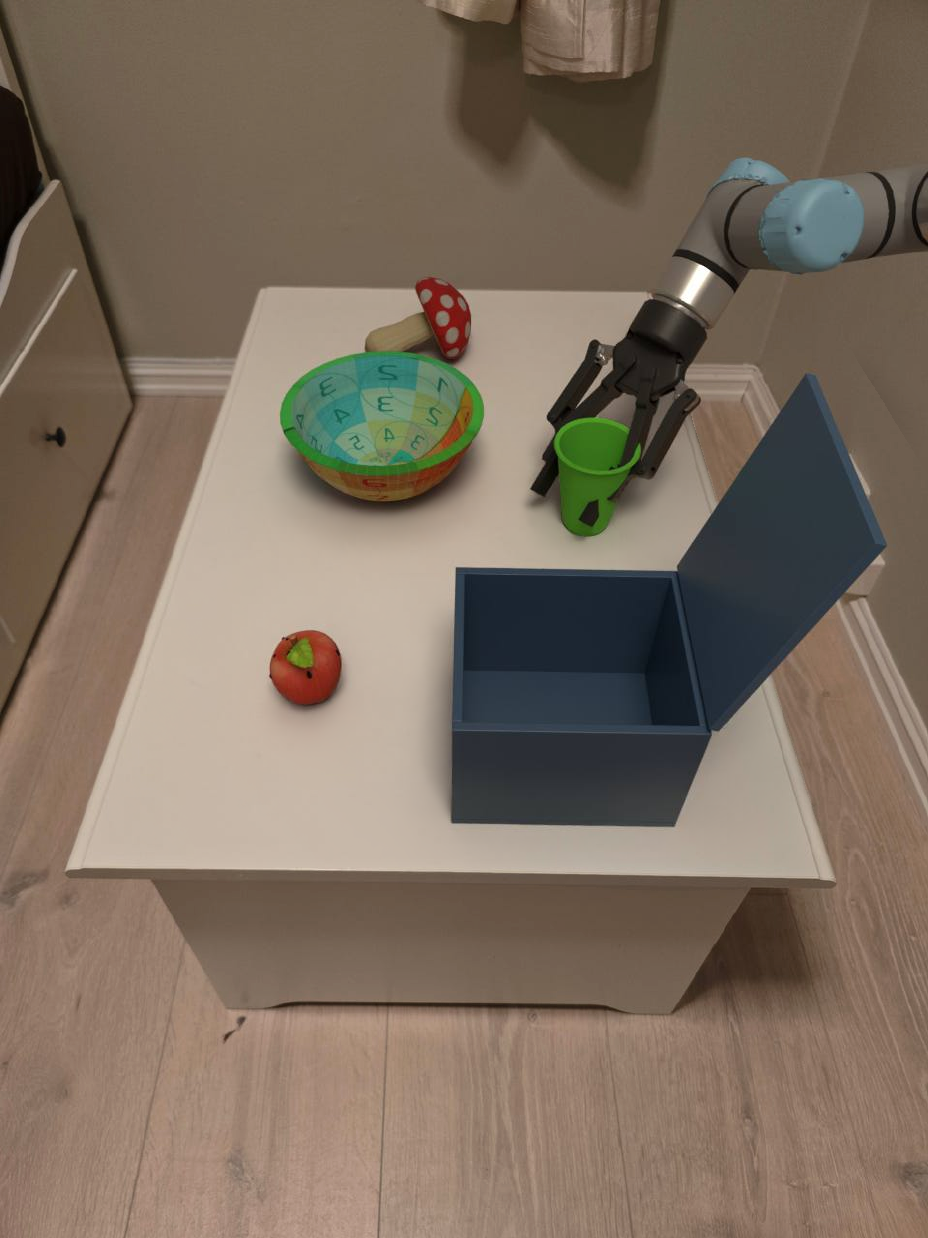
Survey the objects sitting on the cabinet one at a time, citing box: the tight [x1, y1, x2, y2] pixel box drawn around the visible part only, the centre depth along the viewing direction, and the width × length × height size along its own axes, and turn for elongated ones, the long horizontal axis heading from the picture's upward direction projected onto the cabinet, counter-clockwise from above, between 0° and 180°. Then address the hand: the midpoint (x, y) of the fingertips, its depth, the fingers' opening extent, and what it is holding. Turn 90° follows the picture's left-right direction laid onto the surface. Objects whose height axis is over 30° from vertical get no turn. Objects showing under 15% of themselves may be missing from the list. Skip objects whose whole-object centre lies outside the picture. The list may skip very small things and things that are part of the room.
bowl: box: [279, 351, 485, 502], centre depth 101 cm, size 22×22×10 cm
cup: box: [554, 417, 641, 537], centre depth 97 cm, size 9×9×11 cm
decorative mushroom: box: [364, 276, 472, 360], centre depth 119 cm, size 11×11×15 cm
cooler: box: [450, 566, 713, 828], centre depth 76 cm, size 19×17×14 cm
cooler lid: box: [676, 372, 888, 733], centre depth 63 cm, size 20×17×1 cm
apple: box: [268, 629, 343, 706], centre depth 81 cm, size 8×7×10 cm
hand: (561, 507), depth 97 cm, fingers closed on cup, 6 cm apart
